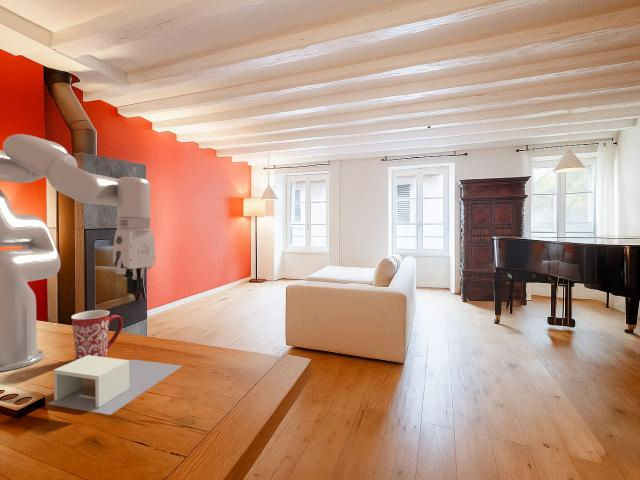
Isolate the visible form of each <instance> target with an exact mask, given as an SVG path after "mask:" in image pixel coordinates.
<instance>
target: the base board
mask: <svg viewBox="0 0 640 480" xmlns="http://www.w3.org/2000/svg"><path fill="white" fill-rule="evenodd" d="M182 367H183V365H180V364H179V365H178V364H172V363H164V362H156V361H149V360H147V361H146V360H140V359H130V360H129V389H128V390H126V391H125V392H123V393H122V394H120V395H118V396H117V397H115V398H114V399H112V400H110V401H109V402H107V403H106V404H104V405H102V406H101V407H99V408H98V407H96V397H93V396H87V395H82V388H80V389H78V390H77V391H75V392H73V393H71V394H69V395H67V396H65V397H63V398H61V399H59V400H58V401H56V400H54V399H53V400H52V401H50V402H48V403H47V405H50V406H51V405H52V406H57V407H62V408H63V407H64V408H68V409H75V410H80V411H86V412H91V413H97V414H104V415H107V416H111V415H112V414H114V413H115V412H117V411H119V410H120V409H121V408H123V407H124V406H126V405H127V404H128V403H130V402H132V401H133V400H134V399H136V398H137V397H139V396H141V395H142V394H144V393H145V392H147V391H148V390H149V389H151V388H152V387H154V386H155V385H157V384H159V383H160V382H162V381H163V380H164V379H165V378H168V377H169V376H170V375H172V374H173V373H174V372H176V371H178V370H179V369H181V368H182Z"/></svg>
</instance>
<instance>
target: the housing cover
mask: <svg viewBox="0 0 640 480" xmlns="http://www.w3.org/2000/svg"><path fill="white" fill-rule="evenodd" d="M129 361H130V360H129V359H123V358H122V359H121V358H115V357H114V358H113V357H106V356H104V357H99V356H91V355H87V356H85V357H83V358H80V359H78V360H76V359H75V360H73V361H71V362H69V363H67V364H64V365H61V366H59V367H57V368H55V369H53V397H54V398H53V400H56V401H58V400H59V399H61V398H63V397H65V396H67V395H69V394H71V393H73V392H75V391H77V390H78V389H80V388H82V378H88V379H95V391H96V407H98V408H99V407H101V406H102V405H104V404H106V403H107V402H109V401H110V400H112V399H114V398H115V397H117V396H118V395H120V394H122V393H123V392H125V391H126V390H128V389H129Z"/></svg>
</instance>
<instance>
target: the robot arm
mask: <svg viewBox="0 0 640 480" xmlns="http://www.w3.org/2000/svg"><path fill="white" fill-rule="evenodd" d="M43 178H45V179H46V180H47V181H48V183H49V184H50V185H51V187H52V188H53V189H54V190H55V191H57V192H59V193H61V194H62V195H64V196H66V197H69V198H71V199H73V200H75V201H76V202H80V203H84V204H88V205H89V204H91V205H103V206H112V207H115V206H116V207H117V208H116V210H117V211H116V212H117V214H116V215H117V216H116V217H117V218H116V221H115V224H116V226H117V229H116V230H115V234H114V239H113V249H112V262H113V263H112V265H113V267H114V268H115V273H116V275H117V274H118V275H123V277H124V279H125V280H126V293H127V294H128V295H139V294H142V293H143V278H144V277H145V273H146V272H147V271H148V270H151V268H152V266H154V265H155V264H156V246H155V243H156V242H155V238H154V233H153V230H152V229H151V184H150V181H149V180H148V179H146V178H142V177H137V176H122V177H119V178H116V177H111V176H106V175H101V174H96V173H91V172H88V171H86V170H83V169H81V168H79V167H78V163H77V159H76V158H75V157H74V156H73V155H72V154H70V153H68V150H67V149H66V148H65V147H64V146H62V145H61V144H59V143H57V142H55V141H51V140H47V139H45V138H42V137H41V138H40V137H38V136H33V135H30V134H23V133H19V134H18V133H16V134H13V135H10V136H7V137H6V138H5V140H4V141H3V143H2V150H1V149H0V181H1V182H8V183H10V182H11V183H15V184H16V183H17V184H28V183H33V182H35V181H38V180H40V179H41V180H42V179H43ZM11 247H12V248H13V247H21V248H19V249H7V250H0V372H4V371H10V370H16V369H20V368H23V367H26V366H29V365H32V364H35V363H37V362H39V361H41V360H42V359H43V358H44V357H45V351H44V350H41V349H38V337H37V336H38V335H37V334H38V333H37V330H38V329H37V297H36V294H35V292H34V290H33V289H32V288H31V286H30V285H29V284H28V282H34V281H39V280H45V279H49V278H52V277H54V276H56V275H57V274H58V273H59V271H60V269H61V265H62V264H61V258H60V255H59V251H58V249H57V246H56V243H55V241H54V237H53V235H52V233H51V230H50V229H49V226H48V225H47V223H46V221H44V220H43V218H40V217H39V216H37V215H34V214H27V213H26V214H24V213H16V212H15V211H14V210H13V208H12V206H11V202H10V201H9V199H8V196H7V195H6V194H5V193H4V192H3V191H2V189H0V248H11Z"/></svg>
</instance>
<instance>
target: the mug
mask: <svg viewBox="0 0 640 480" xmlns="http://www.w3.org/2000/svg"><path fill="white" fill-rule="evenodd" d="M70 319H71V323H72V333H73V334H72V335H73V343H74V353H75V361H76V360H78V359H80V358H83V357H85V356H87V355H91V356H99V357H106V356H107V355H108V350H109V349H110V347H112V345H113V344H114V343H115V341H116V340H117V339H118V337H119V335H120V333H121V332H122V330H123V325H124V319H123V317H122V316H120V315H117V314H112V315H110V311H109V310H107V309H106V310H103V309H95V310H86V311H83V312H78V313H75V314H72V315H71V316H70ZM114 319H117V321H118V326H117V329H116V331H115V332H114V334H113V335H112V337H111V339H110V340H109V326H110V324H111V322H112V321H113V320H114Z"/></svg>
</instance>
